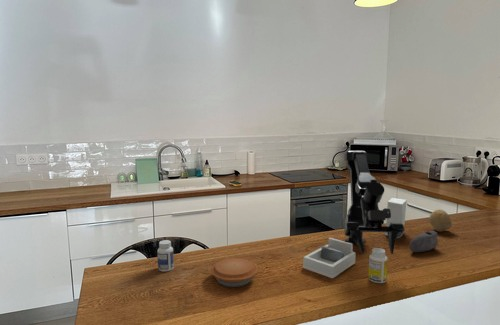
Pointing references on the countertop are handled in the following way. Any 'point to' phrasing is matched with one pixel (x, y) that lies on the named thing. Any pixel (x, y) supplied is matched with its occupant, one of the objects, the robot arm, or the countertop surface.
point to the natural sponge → (440, 220)
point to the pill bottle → (165, 256)
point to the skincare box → (396, 212)
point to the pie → (234, 272)
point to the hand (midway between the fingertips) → (377, 253)
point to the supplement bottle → (378, 266)
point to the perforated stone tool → (424, 242)
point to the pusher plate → (331, 254)
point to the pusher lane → (327, 266)
